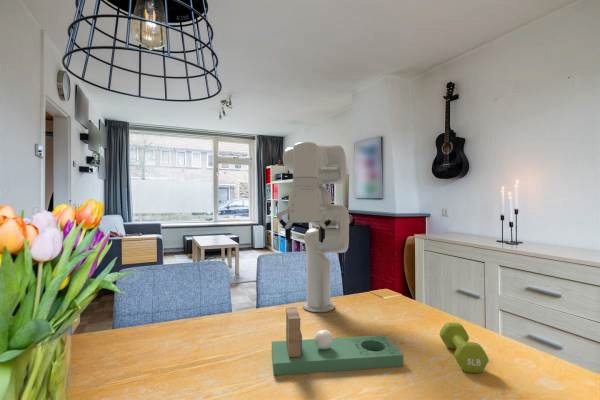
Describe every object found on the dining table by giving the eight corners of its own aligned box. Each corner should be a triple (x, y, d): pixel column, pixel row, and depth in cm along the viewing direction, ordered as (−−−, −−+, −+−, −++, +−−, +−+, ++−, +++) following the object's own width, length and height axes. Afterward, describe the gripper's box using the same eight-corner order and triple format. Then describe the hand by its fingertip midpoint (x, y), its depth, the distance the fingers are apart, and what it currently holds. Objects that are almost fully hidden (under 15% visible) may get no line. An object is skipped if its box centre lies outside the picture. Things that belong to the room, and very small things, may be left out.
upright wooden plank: (286, 342, 90) (286, 307, 90) (298, 342, 90) (298, 307, 90) (288, 357, 82) (288, 318, 82) (302, 356, 82) (302, 318, 82)
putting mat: (271, 351, 91) (271, 341, 91) (385, 344, 96) (385, 334, 96) (273, 375, 79) (273, 363, 79) (403, 366, 84) (403, 354, 84)
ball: (313, 344, 89) (313, 327, 89) (330, 343, 90) (330, 326, 90) (316, 353, 84) (316, 335, 84) (334, 352, 85) (334, 334, 85)
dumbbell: (490, 376, 79) (491, 348, 79) (456, 374, 80) (457, 345, 80) (466, 345, 96) (466, 321, 95) (438, 343, 97) (438, 320, 97)
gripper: (330, 185, 100) (330, 240, 99) (275, 184, 97) (274, 241, 97) (337, 184, 92) (336, 243, 92) (277, 183, 90) (276, 244, 89)
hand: (305, 242), depth 94 cm, fingers open, 9 cm apart
